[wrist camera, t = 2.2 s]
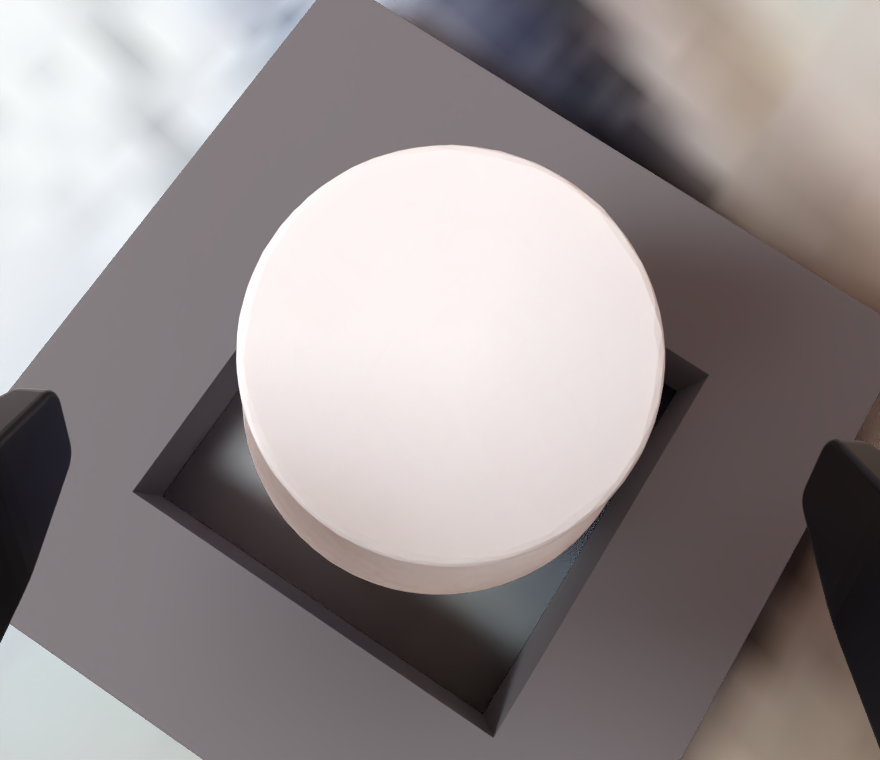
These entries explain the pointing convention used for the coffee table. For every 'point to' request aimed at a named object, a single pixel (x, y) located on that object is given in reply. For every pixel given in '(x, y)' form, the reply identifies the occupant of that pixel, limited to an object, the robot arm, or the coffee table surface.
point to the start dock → (607, 549)
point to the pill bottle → (447, 367)
